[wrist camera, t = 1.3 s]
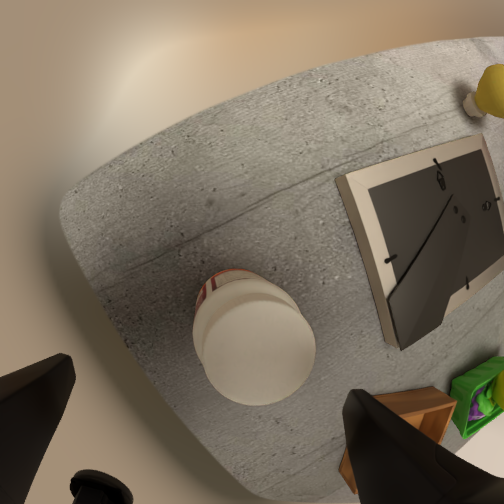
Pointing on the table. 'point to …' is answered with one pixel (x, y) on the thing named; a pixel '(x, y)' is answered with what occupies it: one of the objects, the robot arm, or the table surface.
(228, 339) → the pill bottle
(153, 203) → the table surface
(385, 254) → the picture frame
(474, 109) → the light bulb
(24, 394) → the robot arm
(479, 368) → the fruit basket
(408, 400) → the oak box
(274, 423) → the table surface
